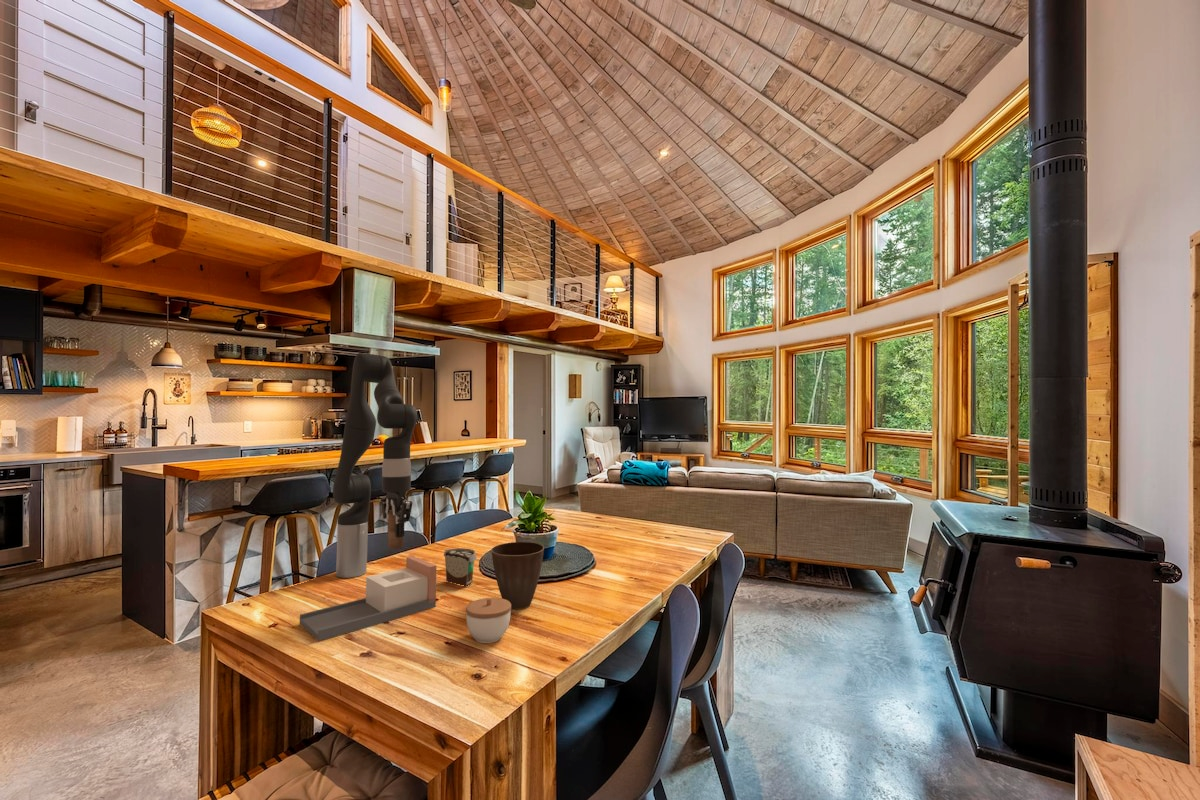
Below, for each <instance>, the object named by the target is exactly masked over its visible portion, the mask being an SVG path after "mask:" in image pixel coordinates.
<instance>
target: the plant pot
mask: <svg viewBox="0 0 1200 800" xmlns="http://www.w3.org/2000/svg"><path fill="white" fill-rule="evenodd" d="M544 552H545V546H544V545H542V544H540V543H537V542H530V541H514V542H513V541H512V542H506V543H501V544H497V545H495V546H493V547H492V548H491V559H492V565H493V570H494V571H493V572H494V574H495V579H496V583H497V584H496V585H497V588H498V590H499V591H498V592H499V594H500V596H501V599H505V600H508V601H509V602H510V603H511V610H522V608H523V609H526V608H528V607H530V606H531V605H532V602H533V600H534V599H533V598H534V596H535V593H536V591H537V588H538V586H537V585H538V583H539V580H540V576H541V570H542V565H543V558H544Z"/></svg>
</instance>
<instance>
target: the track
mask: <svg viewBox="0 0 1200 800" xmlns="http://www.w3.org/2000/svg"><path fill="white" fill-rule="evenodd" d="M405 568H410V569H412V570H414V571H416V572H418V573H421V574H423V575H425V576H427V577H428V595H427V600H423V601H419V602H416V603H412V604H409V605H405V606H402V607H398V608H394V609H391V610H387V611H384V612H380V611H378V610H377V609H375V608H374V607H372V606H371V605H369V604H367V603H366V597H364V598H361V599H355V600H351V601H348V602H344V603H340V604H336V605H333V606H329V607H324V608H321V609H316V610H312V611H309V612H308V611H307V612H304V613H300V614H299V625H300V624H301V625H302V626H303V627H304V628H305V629H306V630H307V631H308V632H307V631H306V630H305V629H304V628H303V627H302V626H301V625H300V626H301V627H302V628H303V629H304V630H305V631H306V632H307V633H308V634H310V633H311V634H312V635H313V636H314V637H315V638H316V639H317V640H318V642H322V641H325V640H324V639H326V640H328V638H329V639H332V638H335V636H336V637H338V635H339V636H342V635H341V634H343V635H346V634H348V633H351V632H356V631H359V630H362V629H363V630H364V629H367V628H369V627H373V626H375V625H380V624H383V623H386V622H389V621H392V620H396V619H399V618H402V617H406V616H409V615H412V614H416V613H421V612H422V611H426V610H431V609H433V607H434V608H436V606H437V605H436V603H437V602H436V599H437V565H436V564H434V563H431V562H430V561H429V562H428V561H426V560H424V559H421V558H419V557H416V556H415V555H409V556H406V559H405ZM345 633H346V634H345ZM311 634H310V635H311ZM312 635H311V636H312ZM313 636H312V637H313ZM314 637H313V638H314ZM315 638H314V639H315ZM316 639H315V640H316ZM317 640H316V641H317ZM321 640H322V641H321Z"/></svg>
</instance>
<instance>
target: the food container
mask: <svg viewBox="0 0 1200 800" xmlns="http://www.w3.org/2000/svg"><path fill="white" fill-rule="evenodd" d="M475 551H476V550H474V549H471V548H463V547H461V548H450V549H449V548H448V549H445V550H444V553H443V557H444V560H445V563H444V565H445V582H446V581H448V582H452V583H456V584H460V585H464V586H468V585H470V584H471V583H472V584H473V577H474V576H473V575H474V568H475V567H474V566H475V561H477V554H476V552H475ZM448 582H447V583H448ZM452 583H451V584H452ZM456 584H455V585H456ZM472 584H471V585H472ZM471 585H470V586H471Z"/></svg>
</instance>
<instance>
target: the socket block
mask: <svg viewBox="0 0 1200 800" xmlns="http://www.w3.org/2000/svg"><path fill="white" fill-rule="evenodd" d="M365 581H366V582H365V598H366V603H367V604H369V605H371V606H372V607H374V608H375V609H377V610H378V611H380V612H384V611H387V610H391V609H394V608H398V607H402V606H405V605H409V604H412V603H416V602H419V601H423V600H427V595H428V577H427V576H425V575H423V574H421V573H418V572H416V571H414V570H412V569H410V568H406V567H405V568H400V569H396V570H395V569H394V570H391V571H387V572H382V573H378V574H373V575H368V576H366V577H365Z"/></svg>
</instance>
